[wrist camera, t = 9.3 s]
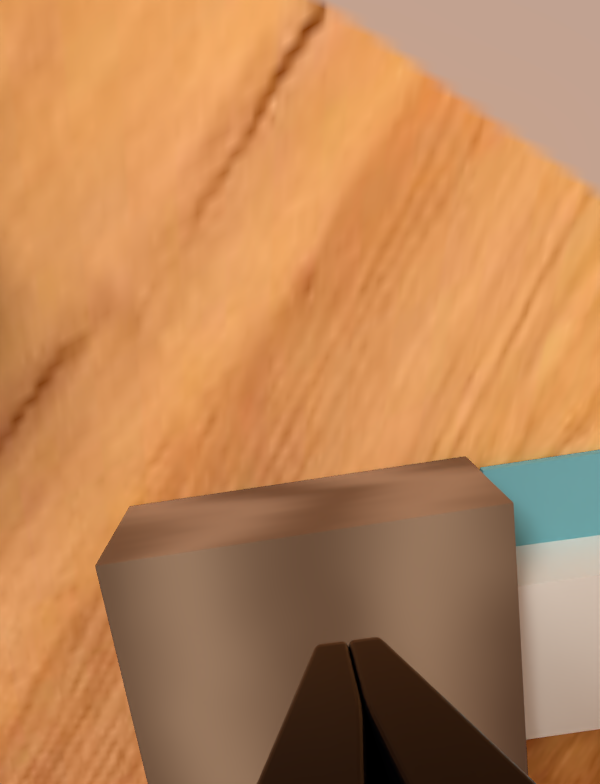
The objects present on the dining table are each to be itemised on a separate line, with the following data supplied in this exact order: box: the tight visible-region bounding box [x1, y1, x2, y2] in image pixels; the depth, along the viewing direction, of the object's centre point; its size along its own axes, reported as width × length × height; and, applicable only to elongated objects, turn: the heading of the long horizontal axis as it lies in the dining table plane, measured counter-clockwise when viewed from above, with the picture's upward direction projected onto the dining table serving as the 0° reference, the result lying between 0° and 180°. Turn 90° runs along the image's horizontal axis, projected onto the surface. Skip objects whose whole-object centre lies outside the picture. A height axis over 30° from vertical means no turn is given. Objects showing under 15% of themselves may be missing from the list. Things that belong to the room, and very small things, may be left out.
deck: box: [95, 457, 528, 784], centre depth 19 cm, size 12×12×4 cm
